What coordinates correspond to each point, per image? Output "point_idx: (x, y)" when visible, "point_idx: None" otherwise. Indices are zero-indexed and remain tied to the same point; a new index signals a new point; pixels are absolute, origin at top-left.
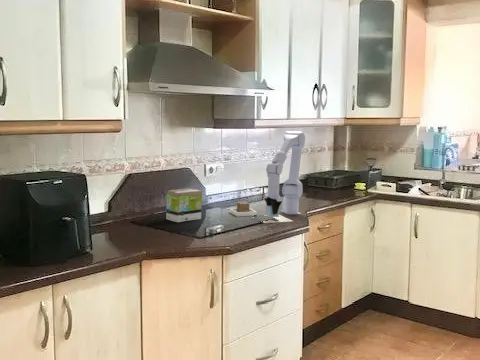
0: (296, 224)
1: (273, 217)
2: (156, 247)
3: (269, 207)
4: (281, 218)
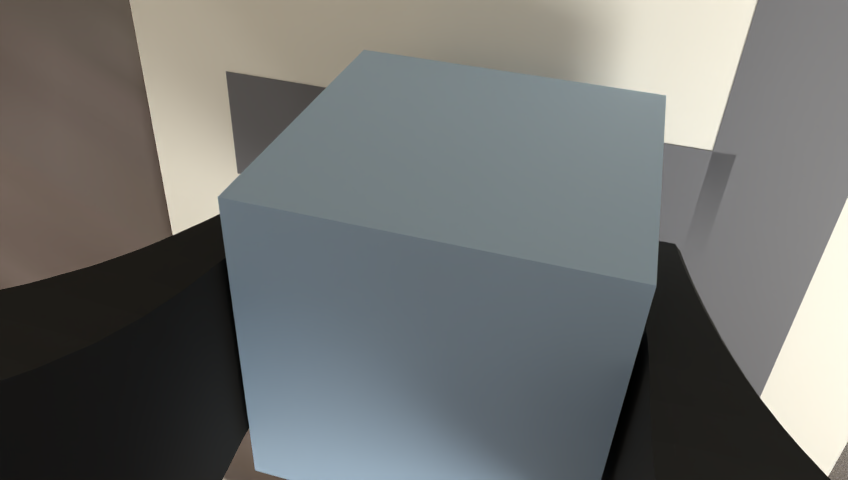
0: None
1: None
2: None
3: (289, 206)
4: None
